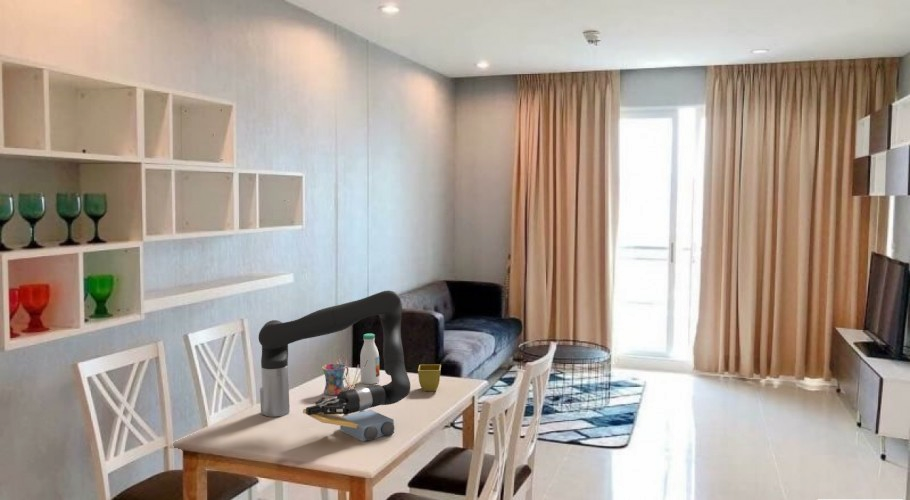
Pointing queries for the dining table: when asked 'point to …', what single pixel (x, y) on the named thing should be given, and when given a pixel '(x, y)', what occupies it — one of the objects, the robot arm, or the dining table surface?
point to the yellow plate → (333, 419)
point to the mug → (334, 378)
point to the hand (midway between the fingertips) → (307, 411)
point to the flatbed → (369, 425)
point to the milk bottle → (369, 361)
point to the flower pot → (429, 377)
